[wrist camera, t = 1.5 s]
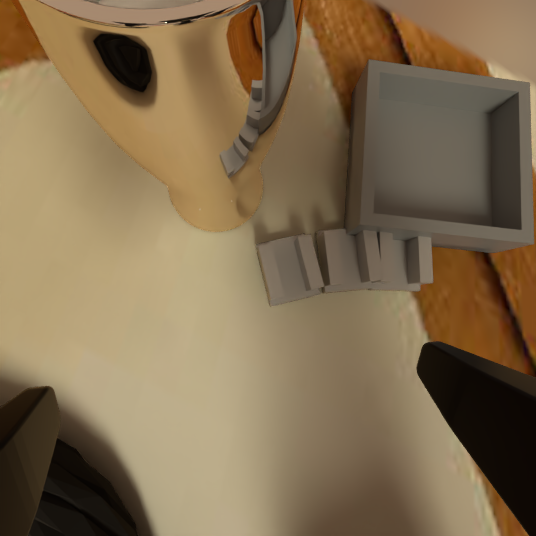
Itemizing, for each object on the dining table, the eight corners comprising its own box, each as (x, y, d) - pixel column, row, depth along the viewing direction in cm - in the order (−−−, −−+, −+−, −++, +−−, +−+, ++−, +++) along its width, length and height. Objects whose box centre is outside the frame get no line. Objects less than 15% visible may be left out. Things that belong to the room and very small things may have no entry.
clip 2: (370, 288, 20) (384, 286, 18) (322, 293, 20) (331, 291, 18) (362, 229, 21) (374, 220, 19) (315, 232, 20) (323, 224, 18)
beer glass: (142, 170, 20) (-149, -218, 5) (233, 120, 21) (203, -332, 6) (199, 259, 20) (55, 107, 5) (289, 204, 21) (403, -70, 6)
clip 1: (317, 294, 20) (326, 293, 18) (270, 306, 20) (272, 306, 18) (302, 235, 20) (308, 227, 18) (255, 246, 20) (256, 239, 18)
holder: (493, 252, 21) (533, 243, 18) (343, 236, 20) (359, 224, 18) (492, 112, 23) (529, 82, 20) (352, 93, 22) (368, 59, 19)
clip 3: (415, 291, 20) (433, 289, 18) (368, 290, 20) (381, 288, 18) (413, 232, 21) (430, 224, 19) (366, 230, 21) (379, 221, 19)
